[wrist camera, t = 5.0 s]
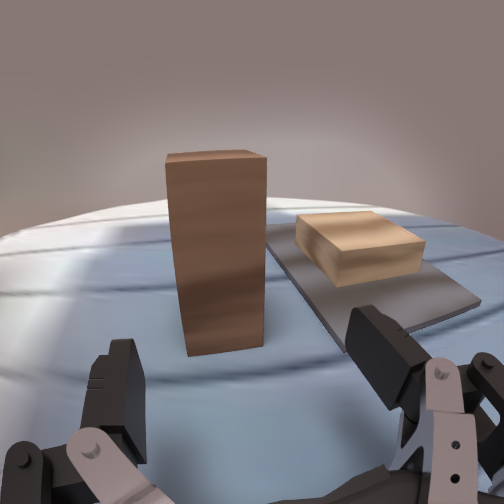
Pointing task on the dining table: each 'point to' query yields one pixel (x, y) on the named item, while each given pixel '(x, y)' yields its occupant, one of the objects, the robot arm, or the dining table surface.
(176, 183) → the pillar
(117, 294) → the dining table surface
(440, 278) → the plinth
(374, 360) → the robot arm
